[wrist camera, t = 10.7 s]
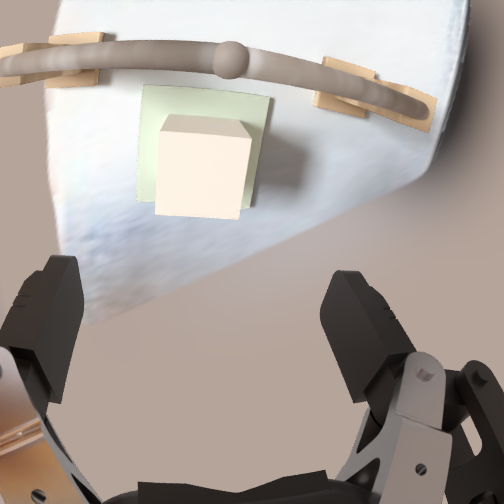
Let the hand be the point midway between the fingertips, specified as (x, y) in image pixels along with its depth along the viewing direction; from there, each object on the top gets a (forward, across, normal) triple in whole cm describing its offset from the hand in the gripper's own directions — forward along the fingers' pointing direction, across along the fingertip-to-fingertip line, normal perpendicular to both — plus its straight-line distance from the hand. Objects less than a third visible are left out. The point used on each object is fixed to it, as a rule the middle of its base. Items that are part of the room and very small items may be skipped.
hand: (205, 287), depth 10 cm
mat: (+16, 0, 0) cm, 16 cm away
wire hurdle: (+16, 0, -6) cm, 17 cm away
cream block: (+16, 0, 0) cm, 16 cm away
